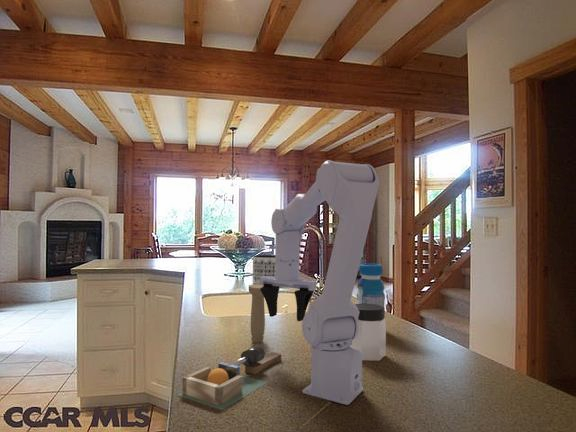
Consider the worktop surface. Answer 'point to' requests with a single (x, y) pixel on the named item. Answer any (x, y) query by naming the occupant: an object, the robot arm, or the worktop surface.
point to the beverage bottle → (370, 285)
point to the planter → (263, 267)
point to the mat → (247, 388)
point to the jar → (371, 332)
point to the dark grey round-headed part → (243, 361)
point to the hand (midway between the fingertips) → (286, 318)
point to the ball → (218, 376)
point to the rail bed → (264, 363)
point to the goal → (211, 387)
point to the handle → (257, 313)
